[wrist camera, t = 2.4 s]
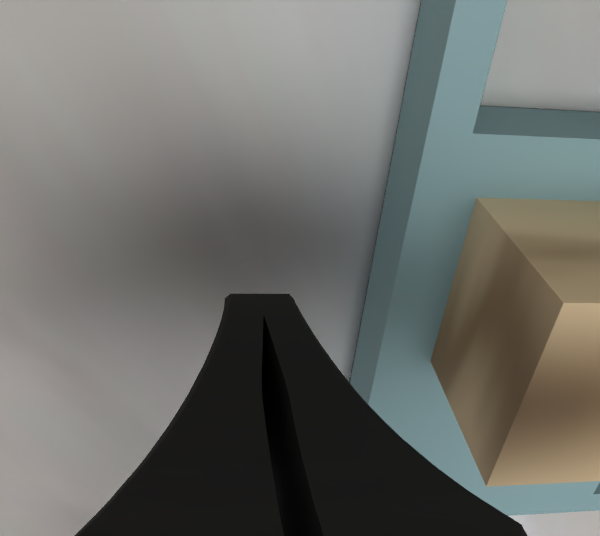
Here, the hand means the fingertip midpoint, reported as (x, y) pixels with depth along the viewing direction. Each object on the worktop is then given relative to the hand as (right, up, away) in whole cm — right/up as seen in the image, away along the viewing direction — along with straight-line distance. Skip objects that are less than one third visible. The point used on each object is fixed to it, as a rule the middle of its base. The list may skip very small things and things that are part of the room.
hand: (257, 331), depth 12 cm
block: (+7, +1, +3) cm, 8 cm away
